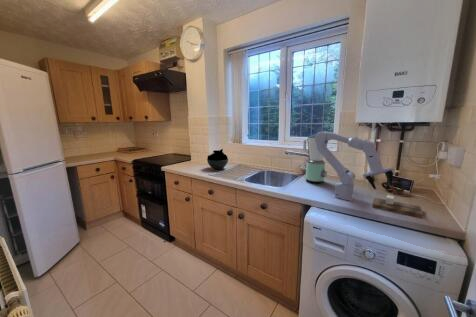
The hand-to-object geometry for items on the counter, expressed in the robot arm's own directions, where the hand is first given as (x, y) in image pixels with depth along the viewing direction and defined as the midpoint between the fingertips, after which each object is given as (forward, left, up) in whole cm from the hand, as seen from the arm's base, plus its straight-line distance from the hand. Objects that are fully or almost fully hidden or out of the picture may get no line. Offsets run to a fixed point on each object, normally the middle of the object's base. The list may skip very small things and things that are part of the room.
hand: (382, 187), depth 107 cm
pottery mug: (+5, +29, -11) cm, 32 cm away
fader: (+4, 0, -8) cm, 9 cm away
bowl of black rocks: (-128, +6, -11) cm, 129 cm away
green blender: (-43, +22, -11) cm, 49 cm away
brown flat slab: (+7, 0, -11) cm, 12 cm away
